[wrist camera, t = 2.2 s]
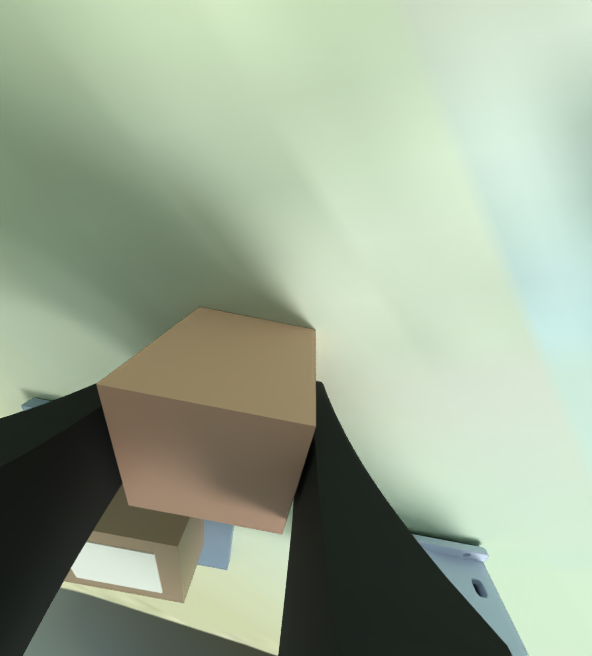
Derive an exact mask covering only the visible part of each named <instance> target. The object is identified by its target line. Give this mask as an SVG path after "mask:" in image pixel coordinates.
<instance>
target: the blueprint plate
mask: <svg viewBox="0 0 592 656" xmlns="http://www.w3.org/2000/svg"><path fill="white" fill-rule="evenodd" d="M48 402H51V401H48V400H43V399H38V398H32V399H31V400H29V401H27V402H26V403H24V404H23V405H21V406H22V409H23V411H25V410H28V409H31V408H33V407H36V406H39V405H42V404H45V403H48ZM233 527H234V525H231V524H225V523H220V522H215V521H209V520H204V519H199V518H193V517H188V516H183V515H177V514H172V513H167V512H161V511H156V510H151V509H145V508H140V507H135V506H130V505H128V502H127V498H126V494H125V490H124V487H123V484H122V485H121V487H120V488H119V490H118V491H117V493H116V494H115V496H114V498H113V499H112V501H111V502H110V504H109V506H108V507H107V509H106V510H105V512H104V514H103V515H102V517H101V518H100V520H99V522H98V523H97V525H96V527H95V528H94V530H93V532H92V533H91V535H90V537H89V538H88V540H87V542H86V543H85V545H84V547H83V548H82V550H81V552H80V553H79V555H78V557H77V559H76V560H75V562H74V564H73V566H72V567H71V569H70V571H69V573H68V574H67V576H66V578H65V580H64V581H66V582H72V583H77V584H83V585H88V586H93V587H99V588H104V589H110V590H115V591H121V592H126V593H131V594H137V595H142V596H148V597H153V598H159V599H164V600H169V601H175V602H180V603H184V601H185V598H186V595H187V592H188V589H189V586H190V583H191V581H192V578H193V575H194V572H195V569H196V566H197V565H202V566H207V567H213V568H218V569H224V570H227V569H228V565H229V561H230V552H231V544H232V535H233Z"/></svg>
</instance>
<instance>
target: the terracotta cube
mask: <svg viewBox="0 0 592 656" xmlns="http://www.w3.org/2000/svg"><path fill="white" fill-rule="evenodd" d="M96 385H97V389H98V393H99V397H100V400H101V404H102V408H103V412H104V415H105V419H106V423H107V427H108V430H109V434H110V438H111V442H112V445H113V449H114V453H115V457H116V460H117V464H118V468H119V472H120V475H121V479H122V483H123V487H124V490H125V494H126V498H127V502H128V505H130V506H135V507H140V508H145V509H151V510H156V511H161V512H167V513H172V514H177V515H183V516H188V517H193V518H199V519H204V520H209V521H215V522H220V523H225V524H231V525H236V526H241V527H246V528H252V529H257V530H262V531H268V532H273V533H278V534H282V533H283V530H284V527H285V524H286V521H287V517H288V514H289V511H290V508H291V505H292V501H293V498H294V495H295V492H296V489H297V485H298V482H299V479H300V476H301V473H302V469H303V466H304V463H305V460H306V457H307V453H308V450H309V447H310V444H311V441H312V438H313V434H314V431H315V428H316V333H315V330H314V329H309V328H304V327H299V326H294V325H289V324H284V323H279V322H274V321H269V320H264V319H258V318H253V317H248V316H243V315H238V314H233V313H228V312H223V311H218V310H213V309H208V308H203V307H199V308H197V309H196V310H195V311H193V312H192V313H191V314H189V315H188V316H187V317H185V318H184V319H183V320H181V321H180V322H179V323H177V324H176V325H175V326H173V327H172V328H170V329H169V330H168V331H166V332H165V333H164V334H162V335H161V336H160V337H158V338H157V339H156V340H154V341H153V342H152V343H150V344H149V345H148V346H146V347H145V348H144V349H142V350H141V351H140V352H138V353H137V354H136V355H134V356H133V357H132V358H130V359H129V360H128V361H126V362H125V363H124V364H122V365H121V366H120V367H118V368H117V369H116V370H114V371H113V372H112V373H110V374H109V375H108V376H106V377H105V378H104V379H102V380H101V381H100V382H98V383H97V384H96Z"/></svg>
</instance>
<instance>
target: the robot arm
mask: <svg viewBox="0 0 592 656" xmlns="http://www.w3.org/2000/svg"><path fill="white" fill-rule="evenodd" d="M96 384H97V383H96ZM96 384H94V385H91V386H89V387H86V388H84V389H81V390H79V391H77V392H74V393H72V394H69V395H67V396H64V397H61V398H59V399H56V400H53V401H51V402H48V403H45V404H42V405H39V406H36V407H33V408H31V409H28V410H25V411H22V412H19V413H16V414H13V415H10V416H7V417H3V418H0V656H23V654H24V652H25V650H26V649H27V647H28V645H29V643H30V641H31V639H32V637H33V636H34V634H35V632H36V630H37V628H38V626H39V624H40V623H41V621H42V619H43V617H44V615H45V613H46V612H47V609H48V608H49V606H50V604H51V602H52V601H53V599H54V597H55V595H56V594H57V592H58V590H59V588H60V587H61V585H62V583H63V581H64V580H65V578H66V576H67V574H68V573H69V571H70V569H71V567H72V566H73V564H74V562H75V560H76V559H77V557H78V555H79V553H80V552H81V550H82V548H83V547H84V545H85V543H86V542H87V540H88V538H89V537H90V535H91V533H92V532H93V530H94V528H95V527H96V525H97V523H98V522H99V520H100V518H101V517H102V515H103V514H104V512H105V510H106V509H107V507H108V506H109V504H110V502H111V501H112V499H113V498H114V496H115V494H116V493H117V491H118V490H119V488H120V487H121V485H122V484H123V483H122V479H121V475H120V472H119V468H118V464H117V460H116V457H115V453H114V449H113V445H112V442H111V438H110V434H109V430H108V427H107V423H106V419H105V415H104V412H103V408H102V404H101V400H100V397H99V393H98V389H97V385H96ZM488 558H489V555H488V553H487V551H486V549H484V548H482V547H478V546H473V545H468V544H462V543H457V542H452V541H446V540H441V539H436V538H431V537H425V536H420V535H415V534H412V533H411V532H410V531H409V529H408V528H407V527H406V526H405V524H404V523H403V522H402V520H401V519H400V518H399V516H398V515H397V514H396V512H395V511H394V510H393V508H392V507H391V506H390V504H389V503H388V502H387V500H386V499H385V497H384V496H383V494H382V493H381V491H380V490H379V489H378V487H377V486H376V484H375V483H374V481H373V480H372V478H371V477H370V475H369V473H368V472H367V470H366V469H365V467H364V466H363V464H362V462H361V461H360V459H359V457H358V456H357V454H356V452H355V450H354V449H353V447H352V445H351V443H350V442H349V440H348V438H347V436H346V434H345V432H344V430H343V428H342V426H341V424H340V422H339V420H338V418H337V416H336V414H335V412H334V410H333V407H332V405H331V403H330V400H329V398H328V395H327V393H326V390H325V387H324V385H323V383H322V382H318V381H316V428H315V431H314V434H313V438H312V441H311V444H310V447H309V450H308V453H307V457H306V460H305V463H304V466H303V469H302V473H301V476H300V479H299V482H298V485H297V489H296V492H295V495H294V503H293V520H292V530H291V541H290V551H289V561H288V571H287V580H286V590H285V600H284V609H283V618H282V627H281V636H280V645H279V654H278V656H529V654H528V652H527V650H526V648H525V646H524V644H523V642H522V640H521V638H520V636H519V634H518V632H517V630H516V628H515V626H514V624H513V622H512V620H511V618H510V616H509V614H508V612H507V610H506V608H505V606H504V604H503V602H502V600H501V598H500V596H499V593H498V591H497V589H496V587H495V585H494V583H493V581H492V579H491V577H490V575H489V573H488V571H487V569H486V567H485V565H484V563H483V562H485V561H486V560H487V559H488Z"/></svg>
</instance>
